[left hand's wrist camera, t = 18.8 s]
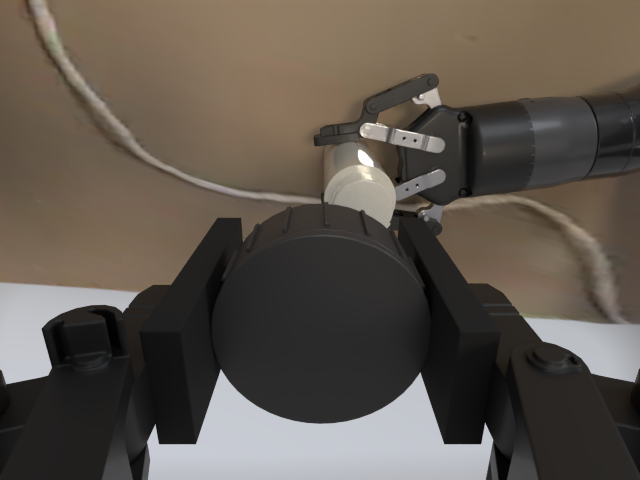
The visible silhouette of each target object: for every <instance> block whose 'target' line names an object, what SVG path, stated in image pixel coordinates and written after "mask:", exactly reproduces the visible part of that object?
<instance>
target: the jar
mask: <svg viewBox="0 0 640 480" xmlns="http://www.w3.org/2000/svg"><path fill="white" fill-rule="evenodd" d="M323 158H324V202H328V204H334V205H340V206H345V207H349V208H352V209H355V210H358V211H361V210H364V211H365V214H367V215H369V216H371V217H373V218H374V219H375V220H377V221H378V222H380V223H381V224H383V225H384V226H385V227H386V228H388V227H389V225H390V221H391V218H392V215H393V211H394V208H395V204H396V193H395V189H394V186H393V184H392V182H391V180H390V178H389V177H388V175H387V174H386V172H385V171H384V169H383V168H382V166H381V165H380V163H379V162H378V160H377V159H376V157H375V156H374V154H373V153H372V151H371V150H370V148H369V147H368V145H367V144H366V142H365V141H364V139H363V138H359V141H356V142H347V143H340V144H332V145H326V146H325V149H324V155H323Z"/></svg>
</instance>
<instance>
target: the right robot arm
mask: <svg viewBox="0 0 640 480" xmlns="http://www.w3.org/2000/svg"><path fill="white" fill-rule="evenodd" d="M438 83H439V80H438V77H437V76H436V75H435V74H422V75H420V76H417V77H415V78H413V79H410V80H408V81H406V82H403V83H401V84H399V85H396V86H394V87H392V88H389V89H387V90H385V91H383V92H380V93H378V94H376V95H373V96H371V97H369V98H367V99H366V100H365V101H364V103H363V110H362V114H361V117H360V118H359V119H358V120H357V121H355V122H350V123H342V124H334V125H326V126H324V127H322V128H320V134H318V135H314V144H315V146H324V145H332V144H340V143H347V142H356V141H359V138H369V139H374V140H379V141H384V142H387V143H390V144H395V145H396V150H397V153H398V156H399V164H398V175H396V176H394V177H392V178H390V180H391V182H392V184H393V186H394V189H395V193H396V201H399V200H402V199H404V198H406V197H409V196H411V195H413V194H415V193H416V194H418V195H419V196H421V197H423V198H425V199H426V200H428V201H430V202H431V204H430V205H429V206H427V207H421V208H419V209H418V210H417V211H416V212H409V211H402V210H396V209H394V211H393V215H392V218H391V221H390V225H389V227H388V228H387V229H392V230H398V229H399V218H423V219H424V221H425V222H426V224H427V225H428V226H429V228H430V229H431V231H432V232H433V234H434V235H435V236H436V235H439V234H440V233H441V231H442V226H441V225H440V220H441V216H442V212H443V208H444V205H447V204H449V203H451V202H452V201H454V200H456V199H459V198H465V197H475V196H484V195H492V194H500V193H509V192H518V191H526V190H535V189H543V188H550V187H555V186H559V185H563V184H567V183H571V182H577V181H586V180H595V179H603V178H611V177H618V176H625V175H630V174H633V173H636V172H639V171H640V84H638V85H636V86H633V87H631V88H629V89H626V90H623V91H617V92H606V93H598V94H590V95H582V96H576V97H543V98H534V99H532V98H523V99H519V100H517V101H510V102H502V103H495V104H487V105H479V106H471V107H463V108H451V107H448V106H446V105H442V104H441V100H440V97H439V94H438V90H437V85H438ZM410 99H411V101H412V102H413V103H415V104H426V105H427V106H428V109H427V110H426V111H425V112H424V113H423V114H421V115H420V116H419V117H418V118H417V119H416V120H415V121H414V122H412V123H411V124H410V125H409V126H408V127H407V128H404V127H399V126H394V125H389V124H383V123H378V122H376V121H377V117H378V114H379V112H381V111H384V110H386V109H389V108H391V107H393V106H396V105H398V104H400V103H403V102H405V101H407V100H410ZM400 181H401V182H400ZM406 188H407V190H406ZM321 201H322V204H324V193H322V194H321Z"/></svg>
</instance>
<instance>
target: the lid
mask: <svg viewBox="0 0 640 480" xmlns="http://www.w3.org/2000/svg"><path fill="white" fill-rule="evenodd" d="M221 281H223V282H224V283H223V285H222V287H221V289H220V292H219V294H218V296H217V298H216V301H215V305H214V308H213V311H212V318H211V339H212V345H213V350H214V353H215V356H216V359H217V361H218V363H219V365H220V367H221V369H222V371H223V373H224V374H225V376H226V377H227V379H228V380H229V382H230V383H231V384H232V385H233V386H234V387H235V388H236V390H237V391H238V392H240V393H241V394H242V395H243V396H244V397H245V398H246V399H248V400H249V401H251V402H252V403H253V404H255V405H256V406H258V407H260V408H262V409H264V410H266V411H267V412H269V413H272V414H275V415H277V416H280V417H283V418H286V419H290V420H294V421H299V422H305V423H319V424H322V423H337V422H344V421H349V420H353V419H357V418H360V417H363V416H366V415H369V414H371V413H373V412H375V411H377V410H379V409H381V408H383V407H385V406H386V405H388V404H389V403H391V402H393V401H394V400H395V399H396V398H398V397H399V396H400V395H401V394H403V393H404V392H405V391H406V389H407V388H408V387H409V386H410V385H411V384H412V383H413V382H414V380H415V379H416V377H417V376H418V375H419V373H420V371H421V369H422V368H423V366H424V364H425V362H426V359H427V354H428V346H429V336H430V327H431V311H430V307H429V303H428V300H427V298H426V296H425V293H424V291H423V290H425V289H426V287H425V285H424V283H423V281H422V279H421V277H420V275H419V273H418V270H417V268H416V266H415V264H414V262H413V260H412V258H411V257H409V258H408V257H407V255H406V253H405V250H404V249H403V247H402V246H401V244H400V242H399V241H398V239H397V237H396V235H395V233H394V231H393V230H392V229H391V230H390V231H389V230H388V229H387V228H386V227H385V226H384V225H383V224H381V223H380V222H378V221H377V220H375V219H374V218H373V217H371V216H369V215H367V214H365V211H364V210H361V211H358V210H355V209H352V208H349V207H345V206H340V205H334V204H328V202H324V204H309V205H303V206H297V207H294V208H291V206H290V207H287V209H286V210H285V211H282V212H280V213H278V214H276V215H274V216H272V217H271V218H269V219H267V220H266V221H264V222H263V223H262V224H260V225H259V224H256V225H255V227H254V230H253V231H252V233H251V234H250V235H249V236H248V237H247V238H246V239H245V241H244V242H243V244H242V245H241V247H240V248H239V250H236V249H235V251H234V253H233V255H232V258H231V260H230V262H229V264H228V266H227V268H226V270H225V272H224V274H223V277H222V279H221Z"/></svg>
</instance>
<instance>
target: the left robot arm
mask: <svg viewBox="0 0 640 480" xmlns="http://www.w3.org/2000/svg"><path fill="white" fill-rule="evenodd" d="M398 241H399V242H400V244H401V246H402V247H403V249H404V250H405V253H406V255H407V257H408V258H409V257H411V258H412V260H413V262H414V264H415V266H416V268H417V270H418V273H419V275H420V277H421V279H422V281H423V283H424V285H425V287H426V289H425V290H423V291H424V293H425V296H426V298H427V300H428V303H429V307H430V311H431V327H430V336H429V346H428V354H427V359H426V362H425V364H424V366H423V368H422V369H421V371H420V372H421V375H422V378H423V381H424V384H425V387H426V390H427V393H428V396H429V399H430V402H431V405H432V408H433V411H434V414H435V417H436V420H437V423H438V426H439V429H440V432H441V435H442V438H443V441H444V444H481V442H482V436H483V431H484V425H485V423H486V425H487V427H488V429H489V431H490V434H491V436H492V438H493V445H492V450H491V456H490V461H489V466H488V471H487V476H486V480H640V369H639V371H638V374H637V377H636V380H635V383H634V382H629V381H624V380H619V379H614V378H609V377H604V376H599V375H595V374H591V372H590V370H589V368H588V367H587V365H586V364H585V363H584V362H583V360H582V359H581V358H580V357H578V356H577V355H575V354H574V353H572V352H571V351H569V350H567V349H565V348H562V347H560V346H558V345H555V344H551V343H546V342H543V341H542V340H541V339H540V338H539V337H538V335H537V334H536V333H535V332H534V330H533V329H532V328H531V327H530V326H529V324H528V323H527V322H526V321H525V319H524V318H523V317H522V316H521V315H519V312H518V311H517V310H516V308H515V307H514V306H512V304H511V302H510V301H509V300H508V299H507V297H506V296H505V295H504V294H503V293H502V292H500V291H499V290H497V289H495V288H494V287H492V286H490V285H489V284H468V283H467V281H466V280H465V278H464V277H463V276H462V274H461V273H460V271H459V270H458V268H457V267H456V265H455V264H454V263H453V261H452V260H451V258H450V257H449V255H448V254H447V252H446V251H445V250H444V248H443V247H442V245H441V244H440V242H439V241H438V239H437V238H436V237H435V235H434V234H433V232H432V231H431V229H430V228H429V226H428V225H427V224H426V222H425V221H424V219H423V218H399V229H398ZM242 244H243V239H242V225H241V218H217V220H216V221H215V223H214V224H213V225H212V227H211V228H210V230H209V231H208V233H207V234H206V236H205V237H204V238H203V240H202V241H201V243H200V244H199V246H198V247H197V249H196V250H195V251H194V253H193V254H192V256H191V257H190V259H189V260H188V262H187V263H186V264H185V266H184V267H183V269H182V270H181V272H180V273H179V275H178V276H177V277H176V279H175V280H174V282H173V283H172V285H152V286H151V287H149V288H147V289H146V290H144V291H143V292H141V293H139V294H138V295H137V296H136V297H135V298H134V300H133V301H132V302H131V303H130V305H129V308H126V309H125V311H124V312H123V313H122V312H121V311H120V310H119V309H117V308H116V307H112V306H107V305H91V306H86V307H81V308H76V309H73V310H70V311H68V312H65V313H62V314H60V315H58V316H57V317H55V318H53V319H52V320H50V321H49V322H48V323H47V324H46V325H45V326H44V327H43V328H42V332H43V336H44V339H45V343H46V347H47V350H48V354H49V358H50V361H51V365H52V369H51V371H50V373H49V375H48V376H45V377H41V378H36V379H31V380H26V381H21V382H16V383H11V384H6V382H5V379H4V376H3V373H2V371H1V370H0V480H148V473H149V464H150V457H149V450H148V445H147V441H148V438H149V436H150V434H151V432H152V430H153V428H154V426H155V424H156V429H157V435H158V440H159V444H196V442H197V439H198V436H199V433H200V430H201V427H202V424H203V421H204V418H205V415H206V412H207V409H208V406H209V403H210V400H211V397H212V394H213V391H214V388H215V385H216V382H217V379H218V376H219V373H220V370H221V367H220V365H219V363H218V361H217V359H216V356H215V353H214V350H213V345H212V339H211V318H212V311H213V308H214V305H215V301H216V298H217V296H218V294H219V292H220V289H221V287H222V285H223V283H224V282H223V281H221V279H222V277H223V274H224V272H225V270H226V268H227V266H228V264H229V262H230V260H231V258H232V255H233V253H234V251H235V249H236V250H239V248H240V247H241V245H242Z"/></svg>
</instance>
